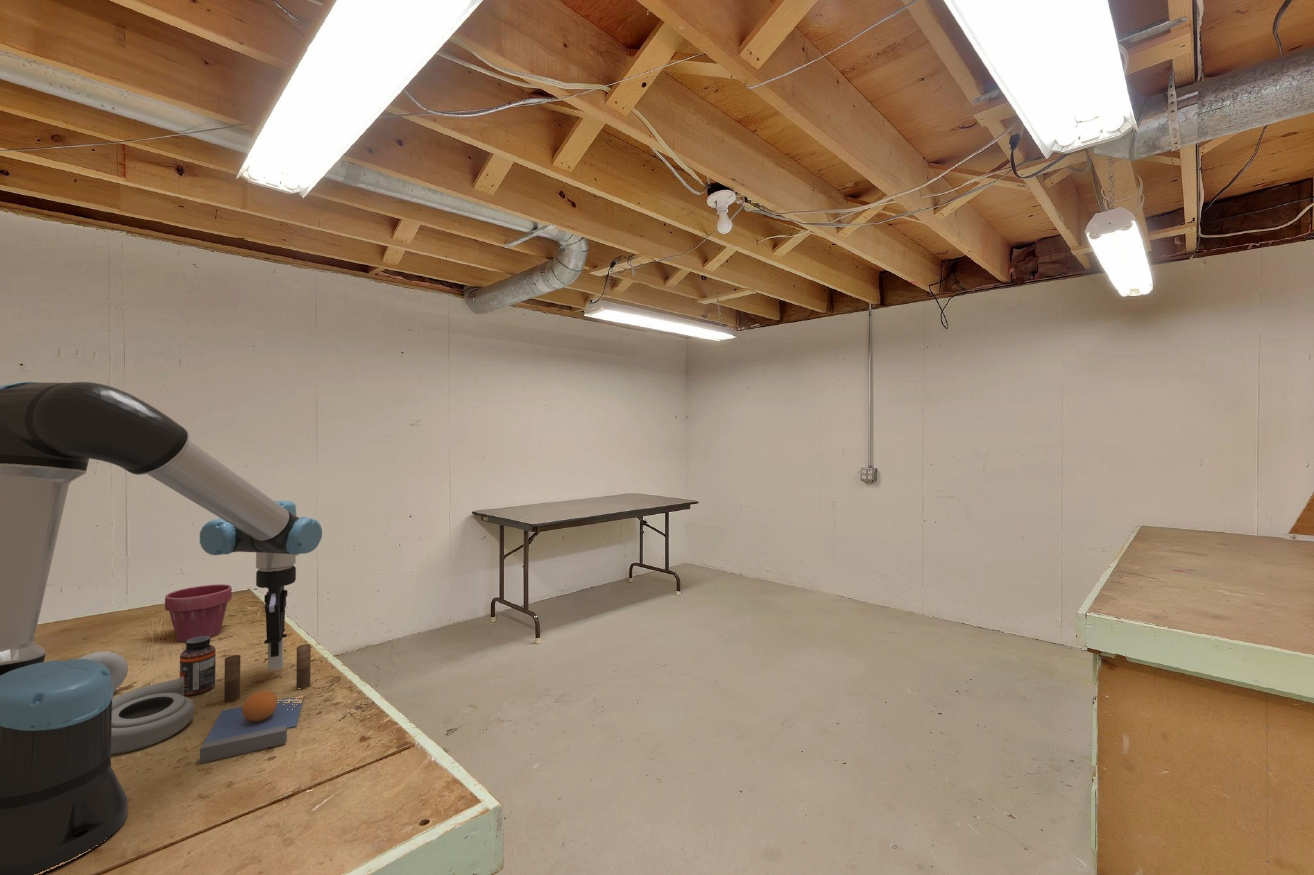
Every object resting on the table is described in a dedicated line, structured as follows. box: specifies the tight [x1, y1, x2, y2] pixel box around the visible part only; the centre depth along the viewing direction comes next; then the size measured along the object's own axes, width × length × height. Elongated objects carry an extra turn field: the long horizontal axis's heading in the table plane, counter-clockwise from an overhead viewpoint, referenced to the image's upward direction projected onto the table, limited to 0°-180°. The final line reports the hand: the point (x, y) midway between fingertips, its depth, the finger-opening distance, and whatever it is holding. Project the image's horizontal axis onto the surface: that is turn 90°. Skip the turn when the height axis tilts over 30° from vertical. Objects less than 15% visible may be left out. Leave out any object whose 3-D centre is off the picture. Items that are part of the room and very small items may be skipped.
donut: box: [78, 650, 129, 691], centre depth 111 cm, size 10×4×10 cm, turn 138°
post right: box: [295, 643, 312, 689], centre depth 117 cm, size 3×3×9 cm
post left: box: [223, 654, 241, 703], centre depth 111 cm, size 3×3×9 cm
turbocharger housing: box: [111, 677, 195, 756], centre depth 99 cm, size 17×6×15 cm
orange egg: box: [242, 690, 278, 722], centre depth 103 cm, size 6×6×6 cm
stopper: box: [199, 725, 288, 764], centre depth 93 cm, size 2×12×2 cm, turn 119°
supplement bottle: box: [179, 636, 217, 697], centre depth 115 cm, size 6×6×11 cm
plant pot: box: [164, 583, 233, 643], centre depth 147 cm, size 14×14×13 cm
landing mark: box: [203, 697, 305, 743], centre depth 103 cm, size 14×14×1 cm
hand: (275, 668), depth 122 cm, fingers closed
